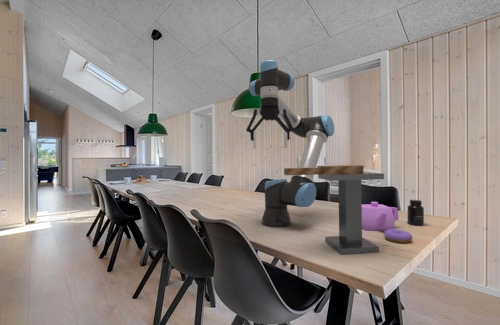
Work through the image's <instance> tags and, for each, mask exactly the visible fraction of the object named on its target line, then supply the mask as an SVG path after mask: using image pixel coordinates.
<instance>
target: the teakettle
mask: <svg viewBox="0 0 500 325" xmlns="http://www.w3.org/2000/svg"><path fill="white" fill-rule="evenodd" d="M399 219H400V218H399V209H398V207H393V206H387V205H384V204H382V203H381V204H380V203H379V202H378V201H370V204H369V203H368V204H362V230H364V231H370V232H371V231H372V232H374V231H375V232H385V231H387V230H389V229H395V222H396V221H398V220H399Z"/></svg>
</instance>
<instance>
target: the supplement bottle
mask: <svg viewBox="0 0 500 325" xmlns="http://www.w3.org/2000/svg"><path fill="white" fill-rule="evenodd" d="M424 218H425V208H424V207H423V205H422V200H420V199H409V205H407V224H408V225H410V226H417V227H421V226H424V225H425V224H424V222H425V219H424Z"/></svg>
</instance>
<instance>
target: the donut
mask: <svg viewBox="0 0 500 325" xmlns="http://www.w3.org/2000/svg"><path fill="white" fill-rule="evenodd" d="M383 235H384V238H385V239H386V240H388V241H389V242H393V243H398V244H399V243H400V244H407V243H411V241H413V236H412V233H410V232H409V231H405V230H401V229H398V228H397V229H395V228H394V229H389V230H387V231H384V233H383Z"/></svg>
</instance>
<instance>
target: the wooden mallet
mask: <svg viewBox="0 0 500 325" xmlns="http://www.w3.org/2000/svg"><path fill="white" fill-rule="evenodd" d="M364 172H365V171H364V165H360V164H359V165H357V164H355V165H354V164H342V165H341V164H339V165H317V166H316V167H315V168H298V167H285V168H283V174H284V175H283V176H294V175H314V176H315V175H316V176H318V175H320V174H324V175H340V174H364Z"/></svg>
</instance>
